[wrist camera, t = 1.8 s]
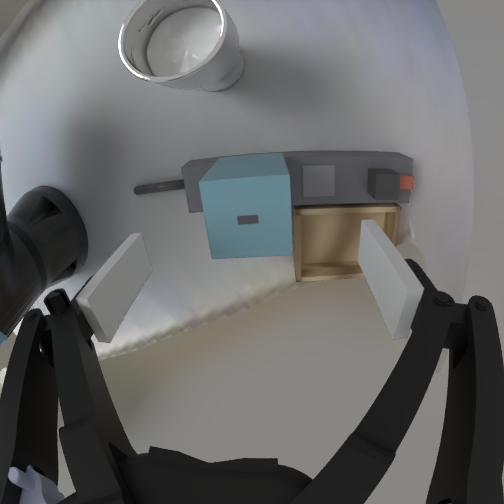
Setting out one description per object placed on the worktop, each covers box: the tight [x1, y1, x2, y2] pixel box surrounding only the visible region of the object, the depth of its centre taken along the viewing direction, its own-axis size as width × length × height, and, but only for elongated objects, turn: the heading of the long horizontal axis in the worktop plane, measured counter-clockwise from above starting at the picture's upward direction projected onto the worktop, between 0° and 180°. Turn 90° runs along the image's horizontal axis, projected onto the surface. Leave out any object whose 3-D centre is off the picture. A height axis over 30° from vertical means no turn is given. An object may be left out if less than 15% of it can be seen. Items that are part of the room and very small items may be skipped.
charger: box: [199, 153, 292, 259], centre depth 24 cm, size 6×6×12 cm
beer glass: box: [118, 0, 244, 91], centre depth 17 cm, size 7×7×15 cm
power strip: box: [134, 151, 414, 213], centre depth 27 cm, size 32×5×6 cm, turn 95°
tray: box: [292, 203, 401, 282], centre depth 31 cm, size 12×9×4 cm
